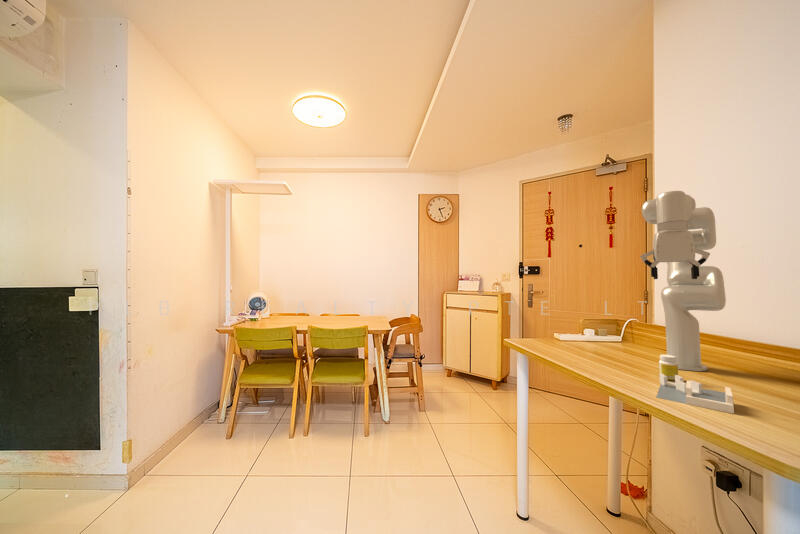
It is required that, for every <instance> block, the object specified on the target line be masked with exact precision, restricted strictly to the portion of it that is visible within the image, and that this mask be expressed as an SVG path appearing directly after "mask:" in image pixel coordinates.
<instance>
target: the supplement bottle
mask: <svg viewBox="0 0 800 534" xmlns="http://www.w3.org/2000/svg"><path fill="white" fill-rule="evenodd" d="M659 359H660V360H659V361H658V375H659V374H663V375H665V376H667V382H672V383H675V375H679V369H678V364H677V363H676V362H675V361H676V357H675V356H672V355H667V354H660V355H659ZM658 378H659V379H660V376H659V377H658Z"/></svg>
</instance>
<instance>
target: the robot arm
mask: <svg viewBox="0 0 800 534" xmlns="http://www.w3.org/2000/svg"><path fill="white" fill-rule="evenodd" d="M696 206H697V203H696V200H695V198H693V197H692V195H689V194H686V192H684V191H682V190H671V191H666V192H662V193H660V194H658V195H657V196H656V198H653V199H649V200H646V201H645V202H644V203H642V205H641V215H642V217H643V219H644V220H645V222H646V223H648V224H651V225H656V229H657V230H656V231H657V233H655V234H654V235H653V241H652V250H649V251H648V252H645V253H643V254H641V255H640V256H639V257H640V259H641V261H642V262H643V263H644V264H645V265H646V266H647V267H649V268H650V277H651V278H653V280H657V279H659V275H658V271H659V270H658V267H657V265H658V264H659V263H666V264H667V270H666V271H667V272H666V282H667V284H668V286H667V285H666V286H665V287H663V288H662V290H661V291H660V297H661V298H660V299H661V302H662V305H663V312H664V321H665V323H664V324H665V340H666V355H672V356H675V357H676V361H675V362H676V363H677V364H678V370H680V371H681V370H683V371H689V372H690V371H691V372H706V371H708V366H707V365H705V364H702V355H701V353H702V352H701V337H700V336H701V335H700V333H701V332H700V323H699V320H698V319H697V317H695V315H693V314H692V313H691V312H690V311H705V312H717V311H721V310H723V309H725V307H726V303H727V299H726V288H725V280H724V276H723V272H722V270H721V269H720V268H719V267H718V266H717V267H716V266H712V265H711V266H710V265H703V264H704V263H705V262H707V260H708V259H709V257H710V256H711V253H710V252H708V250H712V249H713V248H714V247H715V246H716V245H717V226H716V217H715V213H714V212H713V210H712V209H711V208H710V207H708V206H704V207H696ZM699 229H700V230H699ZM696 254H698V255H701V258H699V259H698V260H696ZM649 256H652V260H653V261H652V262H651V261H650V260H648V258H647V257H649Z"/></svg>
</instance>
